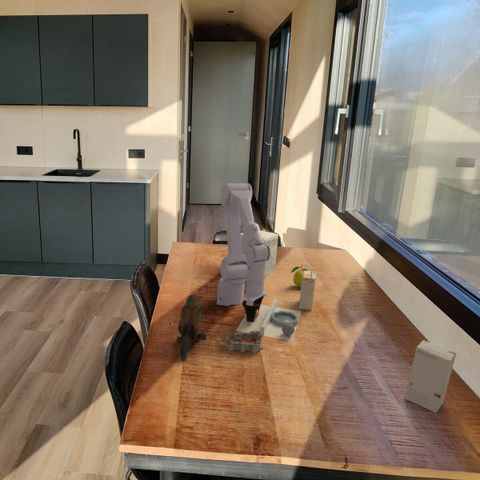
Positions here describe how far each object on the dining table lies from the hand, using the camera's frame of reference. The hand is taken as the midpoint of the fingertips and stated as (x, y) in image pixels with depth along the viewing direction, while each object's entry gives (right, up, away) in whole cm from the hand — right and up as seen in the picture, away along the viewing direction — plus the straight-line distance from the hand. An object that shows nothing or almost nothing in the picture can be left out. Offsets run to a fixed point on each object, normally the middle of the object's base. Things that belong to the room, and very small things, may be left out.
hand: (252, 317), depth 145 cm
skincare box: (+42, -15, -36) cm, 58 cm away
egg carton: (-3, -6, -16) cm, 17 cm away
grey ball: (+11, -2, -10) cm, 15 cm away
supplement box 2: (+20, +1, +14) cm, 25 cm away
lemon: (+20, +6, +34) cm, 40 cm away
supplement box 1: (+3, +12, +50) cm, 51 cm away
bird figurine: (-19, -5, -17) cm, 25 cm away
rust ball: (0, +1, 0) cm, 1 cm away
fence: (+6, -2, 0) cm, 6 cm away
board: (+6, -2, 0) cm, 6 cm away
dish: (+11, -1, 0) cm, 11 cm away
